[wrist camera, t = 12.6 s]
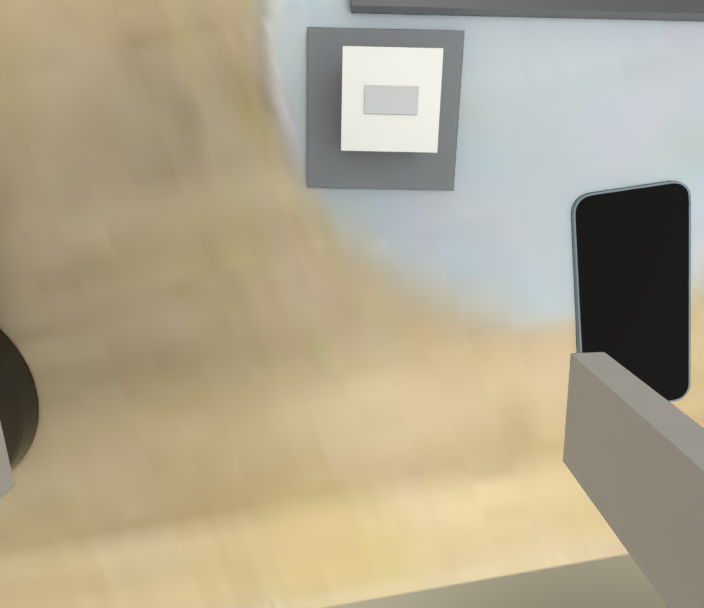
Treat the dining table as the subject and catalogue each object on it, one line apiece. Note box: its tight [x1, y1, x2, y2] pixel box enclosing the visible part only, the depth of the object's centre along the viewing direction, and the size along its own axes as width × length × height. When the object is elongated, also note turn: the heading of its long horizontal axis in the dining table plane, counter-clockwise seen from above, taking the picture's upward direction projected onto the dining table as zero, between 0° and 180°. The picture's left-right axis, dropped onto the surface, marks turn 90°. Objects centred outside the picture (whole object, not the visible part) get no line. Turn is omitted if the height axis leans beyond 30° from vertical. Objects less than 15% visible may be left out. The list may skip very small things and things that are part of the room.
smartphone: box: [571, 181, 691, 402], centre depth 37 cm, size 7×1×15 cm
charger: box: [341, 46, 443, 153], centre depth 29 cm, size 4×4×8 cm
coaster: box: [307, 27, 464, 191], centre depth 34 cm, size 9×9×1 cm
